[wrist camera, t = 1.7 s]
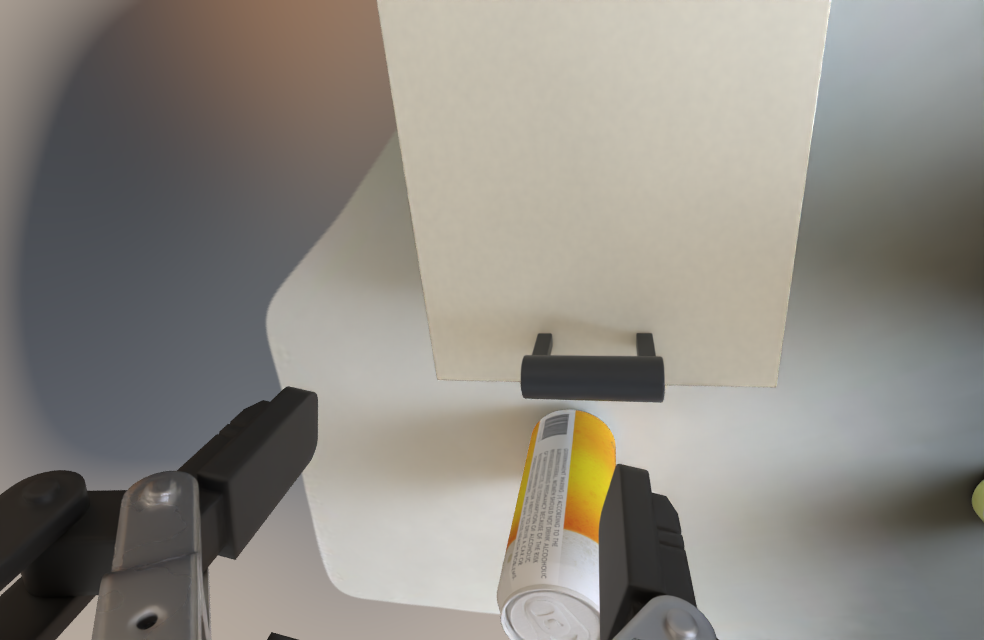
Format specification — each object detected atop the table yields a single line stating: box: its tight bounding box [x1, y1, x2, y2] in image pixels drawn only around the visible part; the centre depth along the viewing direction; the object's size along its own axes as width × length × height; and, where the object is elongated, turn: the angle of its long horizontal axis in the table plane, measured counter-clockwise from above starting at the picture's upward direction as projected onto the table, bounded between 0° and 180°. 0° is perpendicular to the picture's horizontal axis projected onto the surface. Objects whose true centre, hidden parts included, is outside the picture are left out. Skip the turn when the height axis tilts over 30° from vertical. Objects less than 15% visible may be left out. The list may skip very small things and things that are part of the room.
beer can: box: [497, 409, 616, 640], centre depth 32 cm, size 6×6×15 cm
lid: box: [377, 0, 831, 403], centre depth 20 cm, size 18×16×5 cm
